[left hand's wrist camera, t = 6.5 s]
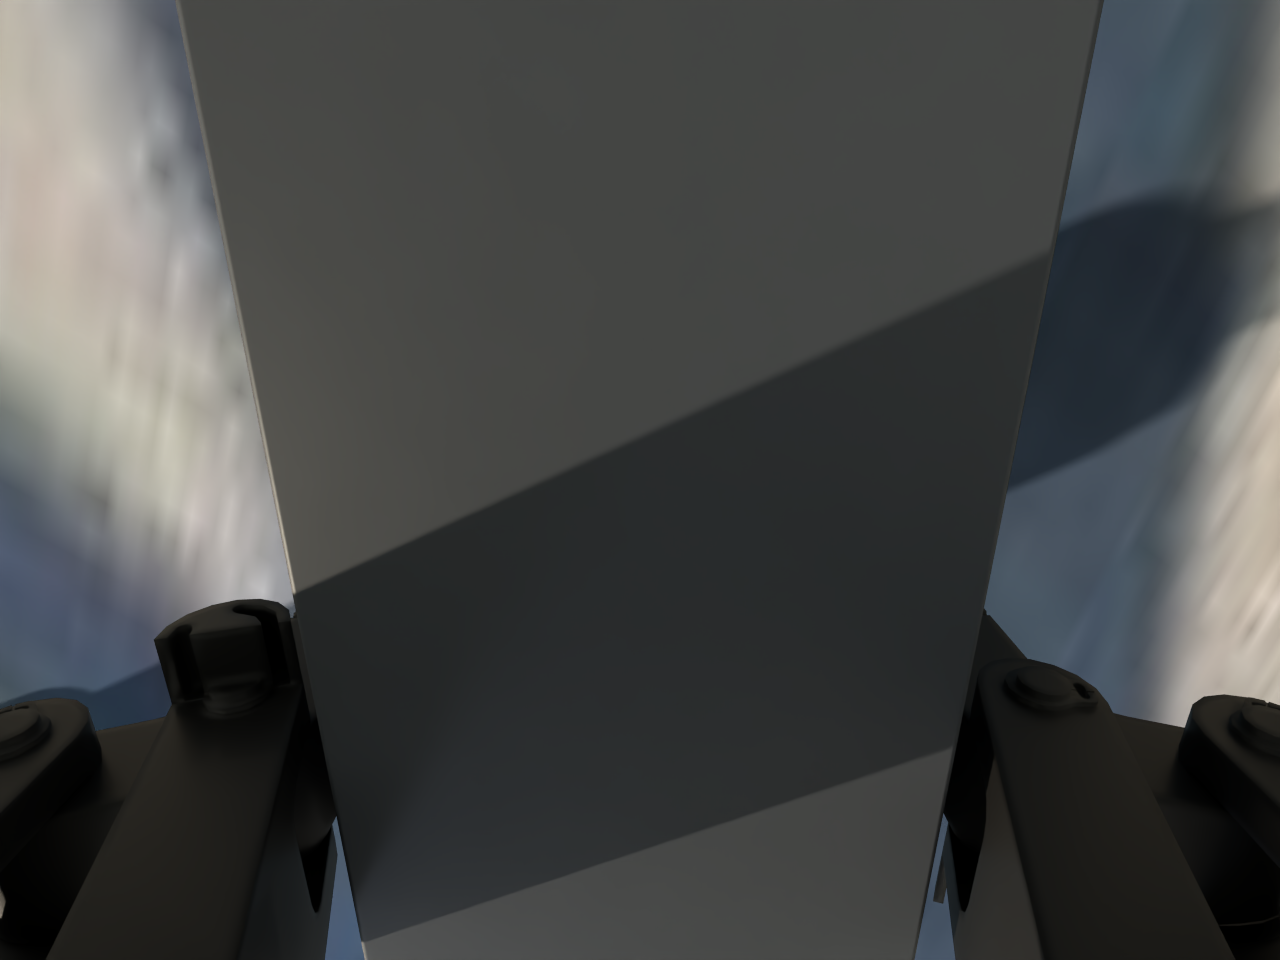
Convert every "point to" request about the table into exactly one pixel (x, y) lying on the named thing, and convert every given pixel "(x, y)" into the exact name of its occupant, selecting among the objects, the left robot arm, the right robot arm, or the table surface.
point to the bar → (639, 438)
